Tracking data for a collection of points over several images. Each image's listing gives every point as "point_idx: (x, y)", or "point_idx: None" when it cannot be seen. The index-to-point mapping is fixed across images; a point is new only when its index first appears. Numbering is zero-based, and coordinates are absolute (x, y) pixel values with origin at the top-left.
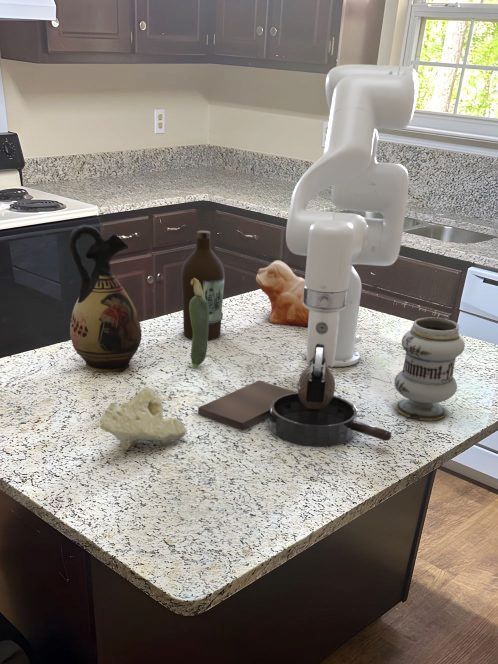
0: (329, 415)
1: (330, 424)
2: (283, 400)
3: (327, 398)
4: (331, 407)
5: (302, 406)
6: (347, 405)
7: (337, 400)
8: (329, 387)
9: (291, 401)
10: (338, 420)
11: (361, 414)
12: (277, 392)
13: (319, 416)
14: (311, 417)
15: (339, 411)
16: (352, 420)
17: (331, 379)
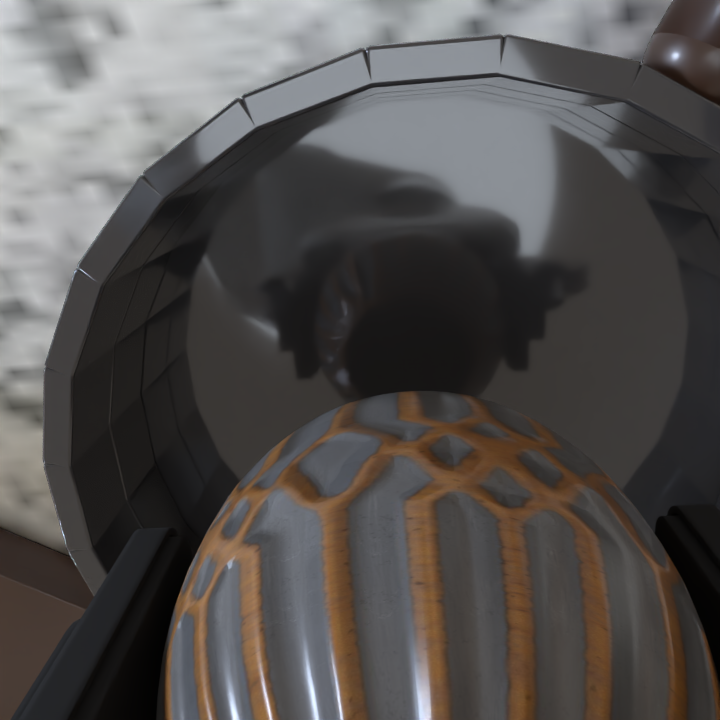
0: (186, 307)
1: (362, 284)
2: None
3: (597, 465)
4: (130, 316)
5: (165, 522)
6: (201, 176)
7: (109, 291)
8: (645, 553)
9: None
10: (261, 227)
11: (19, 28)
12: (13, 694)
13: (236, 379)
14: (275, 432)
15: (169, 238)
16: (706, 79)
17: (581, 621)
